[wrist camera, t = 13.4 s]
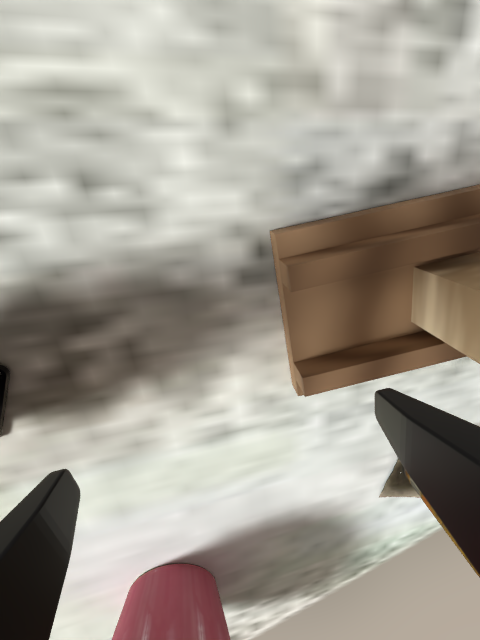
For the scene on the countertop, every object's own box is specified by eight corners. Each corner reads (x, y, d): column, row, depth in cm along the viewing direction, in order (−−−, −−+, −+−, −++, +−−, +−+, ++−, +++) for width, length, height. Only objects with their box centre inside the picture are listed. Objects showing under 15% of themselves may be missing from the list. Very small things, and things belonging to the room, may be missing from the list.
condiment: (476, 435, 30) (637, 576, 19) (436, 497, 33) (556, 650, 22) (412, 428, 29) (548, 578, 18) (376, 494, 32) (474, 657, 21)
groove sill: (292, 384, 25) (307, 414, 21) (269, 231, 20) (284, 239, 17) (550, 320, 26) (600, 339, 23) (589, 160, 21) (661, 155, 18)
